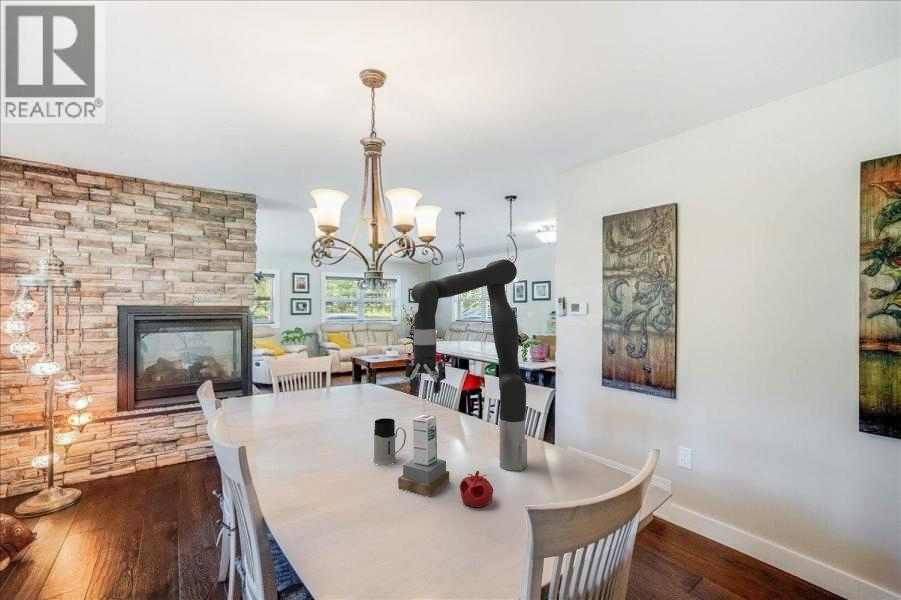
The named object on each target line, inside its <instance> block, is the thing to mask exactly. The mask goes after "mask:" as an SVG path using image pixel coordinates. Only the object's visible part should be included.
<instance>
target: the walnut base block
mask: <svg viewBox="0 0 901 600" xmlns="http://www.w3.org/2000/svg"><path fill="white" fill-rule="evenodd" d="M397 481H398V482H397V483H398V486H397V487H398V488H399V489H398V490H401V489H403V490H402V491H405V490H407V491H406V492H408V491H410V492H409V493H412V492H413V493H412V494H416V493H417V494H416V495H419V494H420V495H419V496H424V497H426V496H427V498H431V497H432V496H434V495H436V493H438V492H439V491H440V490H442V488H444V487H446V485H448V484H449V483H450V471H448V470H446V473H445V474H444V475H442V476H441V477H439V478H438V479H436V480H435V481H433V482H432V483H430V484H429V485H428V484H424V483H421V482H418V481H414V480H411V479H407V478H404V477H403V474H402V475H401V476H399V477H398V480H397Z"/></svg>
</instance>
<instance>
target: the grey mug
mask: <svg viewBox="0 0 901 600" xmlns="http://www.w3.org/2000/svg"><path fill="white" fill-rule="evenodd" d="M395 422H396V420H395V419H394V418H386V417H385V418H378V419H376V420H374V429H373V443H374V444H373V449H374V451H373V460H372V463H373V462H374V463H375V464H378V465H377V466H380V465H386V466H390V465H389V464H391V465H393V464H395V463H396V462H397V458H396V455H397V454H398V453H399V452H400V451H401V450H403V448H404V446H405V443H406V439H407V433H406V429H405V428H403V427H402V426H400V427H397V429H396V427H395V426H396V425H395V424H396V423H395ZM395 429H396V430H395ZM399 429H400V430H402V431H403V437H404V438H403V443H402V445H401V447H400V448H399V449H398V450H397V451H396V438H397V436H398V431H399ZM374 463H373V464H374ZM392 463H393V464H392ZM375 464H374V465H375Z"/></svg>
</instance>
